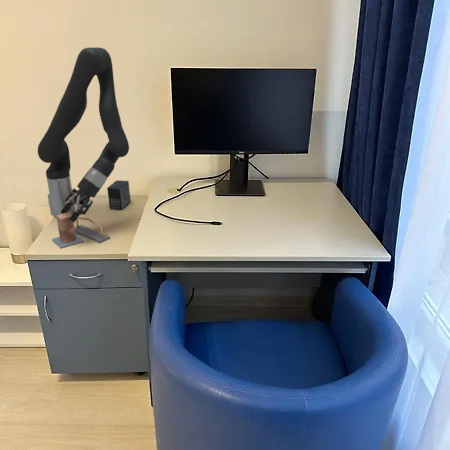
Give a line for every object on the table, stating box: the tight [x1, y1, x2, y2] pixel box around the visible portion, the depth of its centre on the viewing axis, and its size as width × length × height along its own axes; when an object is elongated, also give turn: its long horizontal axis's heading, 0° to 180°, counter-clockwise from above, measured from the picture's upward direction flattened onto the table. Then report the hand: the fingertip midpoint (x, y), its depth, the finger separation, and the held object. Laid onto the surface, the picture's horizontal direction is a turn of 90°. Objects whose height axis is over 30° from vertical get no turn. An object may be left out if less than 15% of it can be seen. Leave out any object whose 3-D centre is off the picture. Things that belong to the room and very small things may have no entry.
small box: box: [106, 180, 132, 211], centre depth 195 cm, size 11×6×10 cm, turn 170°
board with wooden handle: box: [74, 216, 111, 244], centre depth 168 cm, size 5×18×7 cm, turn 54°
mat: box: [51, 233, 85, 249], centre depth 164 cm, size 9×9×1 cm
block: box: [55, 212, 76, 243], centre depth 162 cm, size 4×4×10 cm
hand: (67, 217), depth 161 cm, fingers open, 8 cm apart
